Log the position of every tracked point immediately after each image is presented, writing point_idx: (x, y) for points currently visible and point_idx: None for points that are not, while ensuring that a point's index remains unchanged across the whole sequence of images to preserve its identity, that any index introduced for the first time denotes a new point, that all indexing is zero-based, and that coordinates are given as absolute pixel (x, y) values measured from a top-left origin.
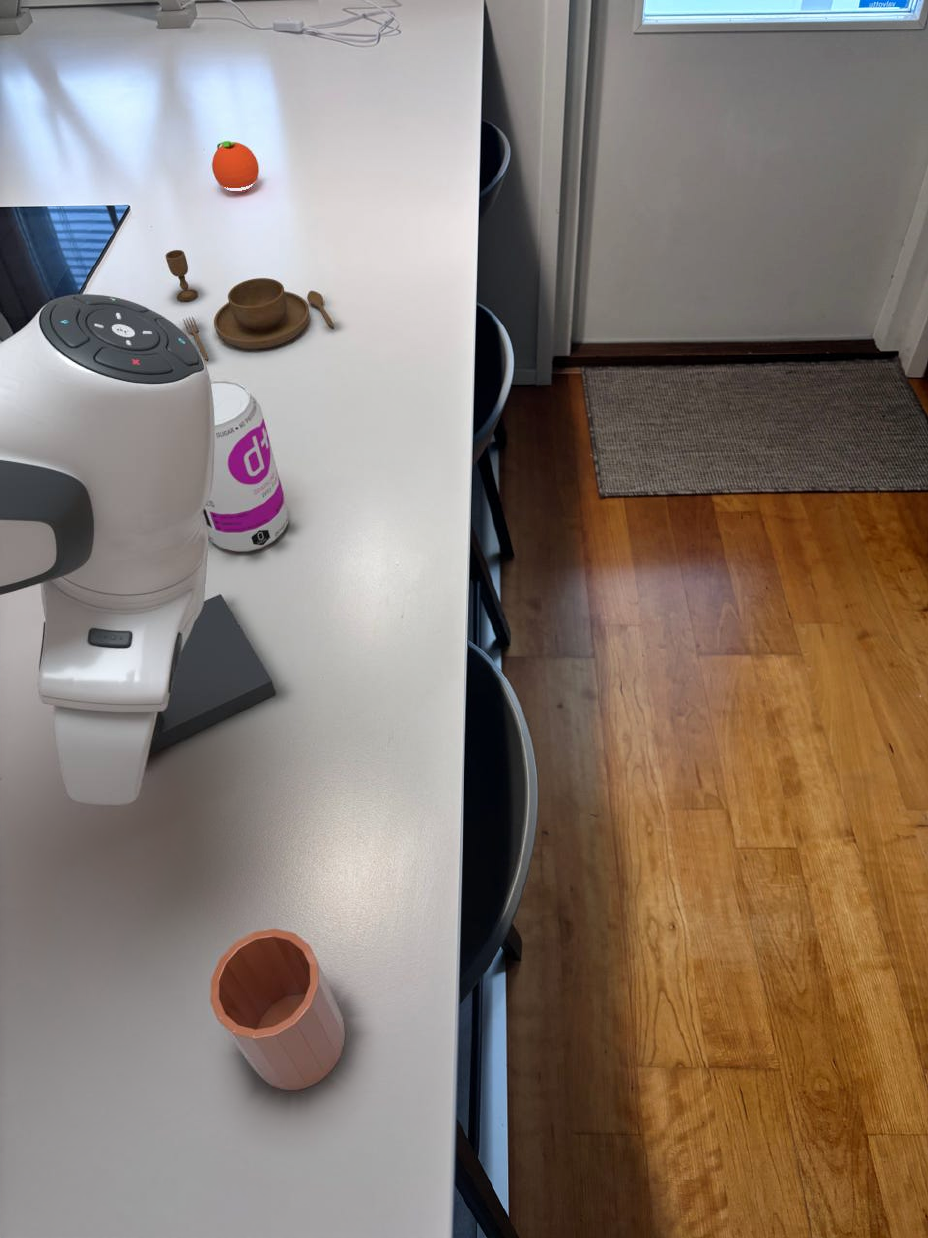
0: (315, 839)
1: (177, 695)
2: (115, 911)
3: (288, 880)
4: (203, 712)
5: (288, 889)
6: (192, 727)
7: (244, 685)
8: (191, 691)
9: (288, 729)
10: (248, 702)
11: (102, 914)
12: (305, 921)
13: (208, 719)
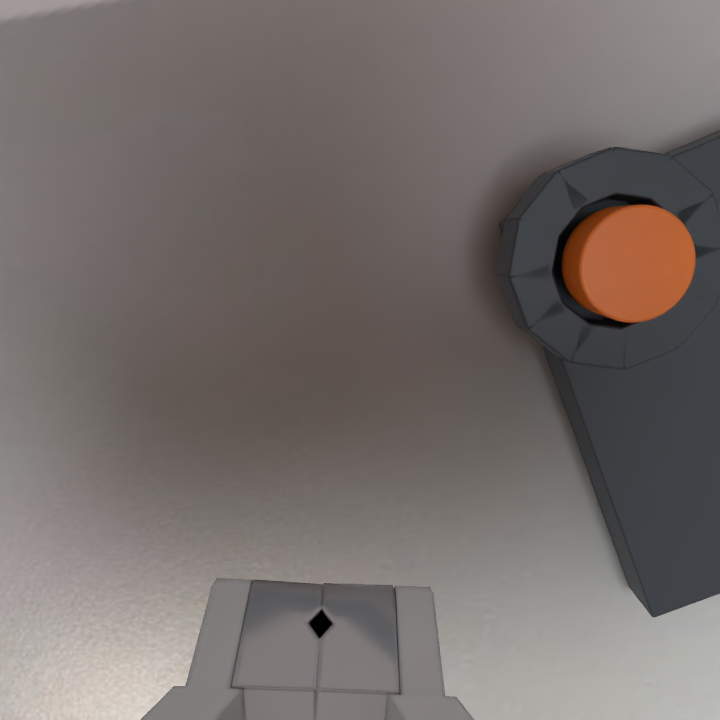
0: None
1: (673, 390)
2: (116, 255)
3: (148, 606)
4: (597, 458)
5: (128, 606)
6: (572, 413)
7: (656, 555)
8: (676, 425)
9: (521, 611)
10: (615, 539)
11: (111, 226)
12: (57, 635)
13: (586, 451)
